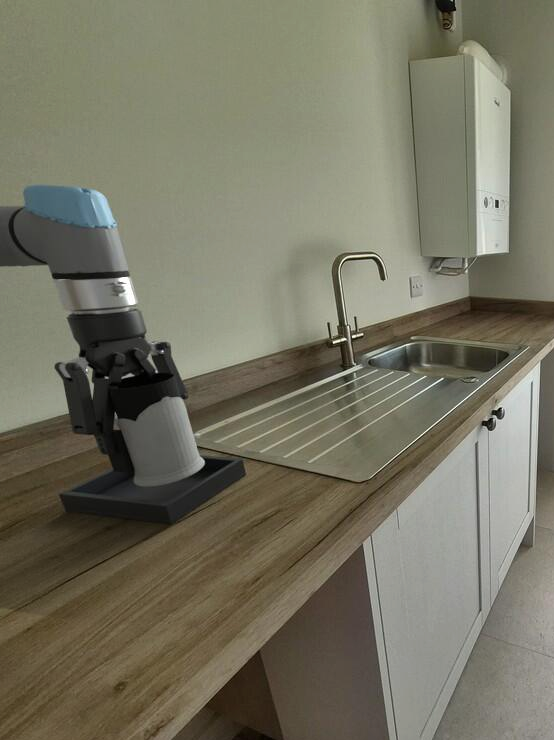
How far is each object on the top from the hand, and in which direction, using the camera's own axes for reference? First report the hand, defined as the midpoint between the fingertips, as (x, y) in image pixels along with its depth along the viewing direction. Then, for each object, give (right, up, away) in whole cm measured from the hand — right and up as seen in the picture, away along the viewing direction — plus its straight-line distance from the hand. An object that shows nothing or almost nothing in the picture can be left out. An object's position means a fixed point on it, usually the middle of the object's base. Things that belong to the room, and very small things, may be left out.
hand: (151, 457), depth 64 cm
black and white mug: (0, -2, +1) cm, 2 cm away
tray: (0, -6, +2) cm, 6 cm away
